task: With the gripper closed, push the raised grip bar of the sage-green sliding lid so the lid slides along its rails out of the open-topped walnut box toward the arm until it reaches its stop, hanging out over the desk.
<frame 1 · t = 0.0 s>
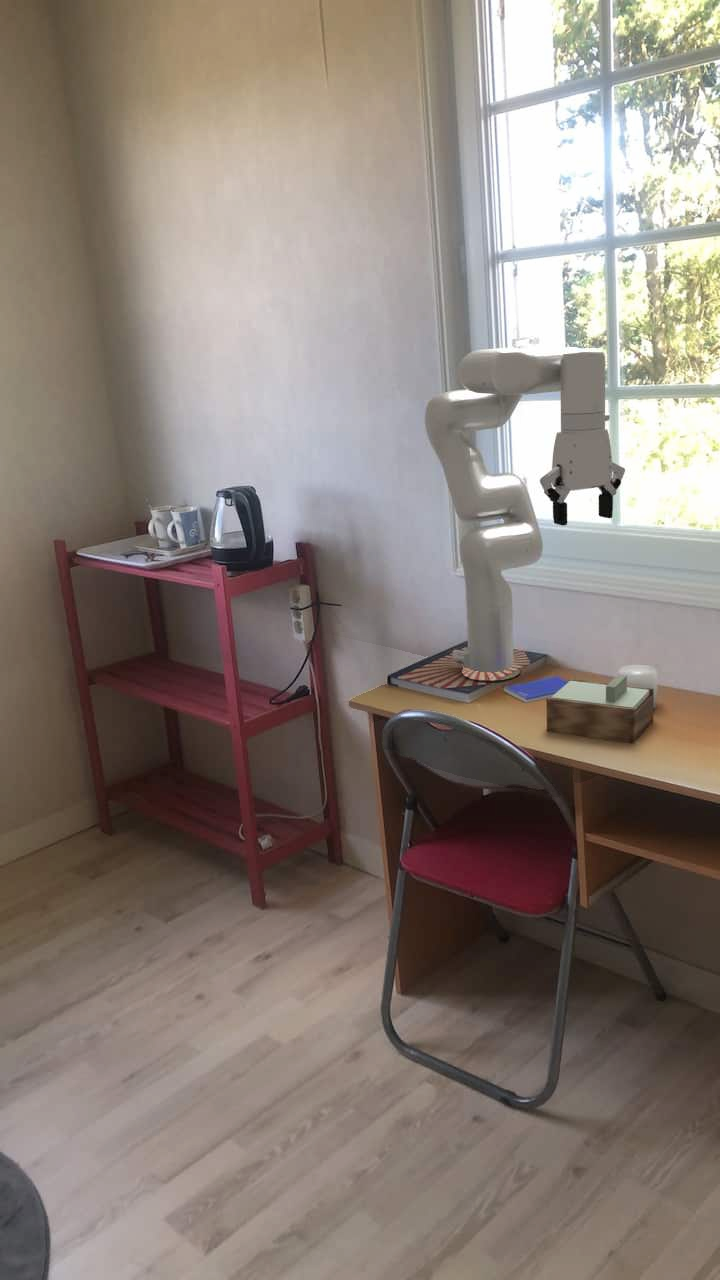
hand: (583, 520, 193), 37 cm above the table, tool pointing down, fingers open, 9 cm apart
walnut box: (600, 725, 199), on the table
blue book: (541, 694, 220), on the table
lid: (600, 688, 197), point 7 cm above the table, slide at 0.0 cm
white round canister: (637, 705, 209), on the table
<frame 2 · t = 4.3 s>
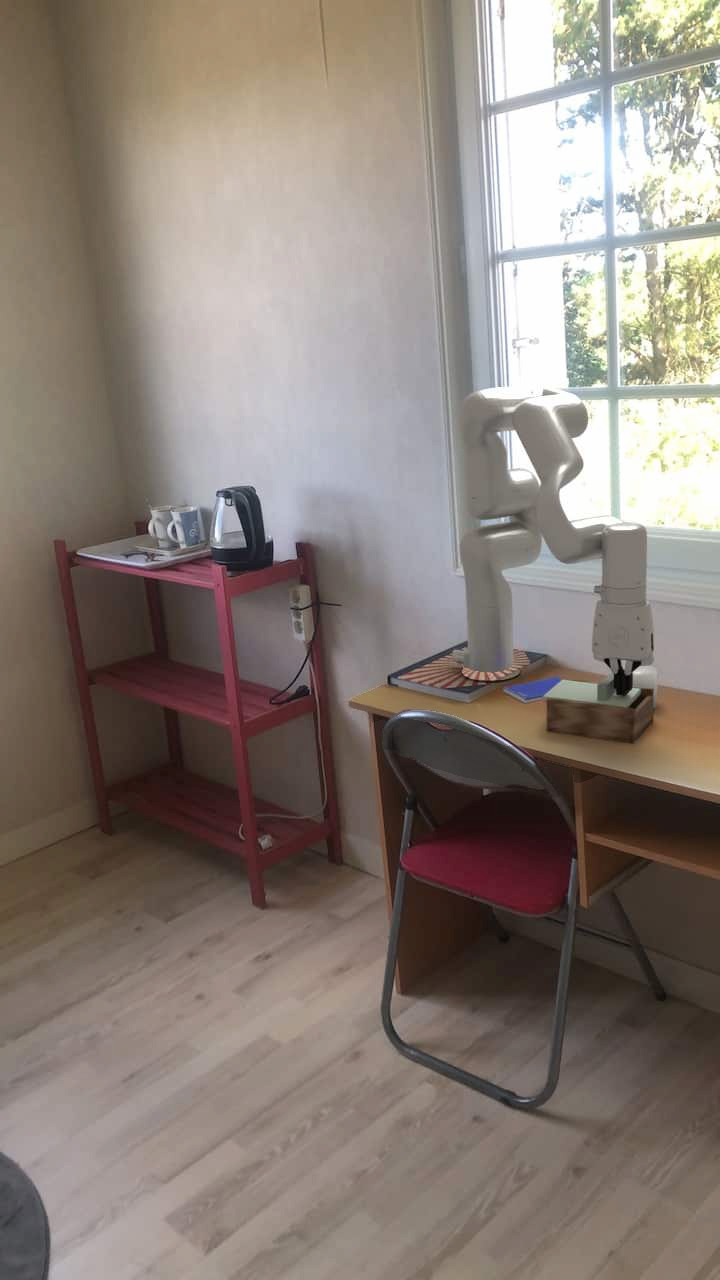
hand: (623, 693, 196), 7 cm above the table, tool pointing down, fingers closed
lid: (591, 687, 198), point 7 cm above the table, slide at 1.6 cm, touching gripper
everything else where it was.
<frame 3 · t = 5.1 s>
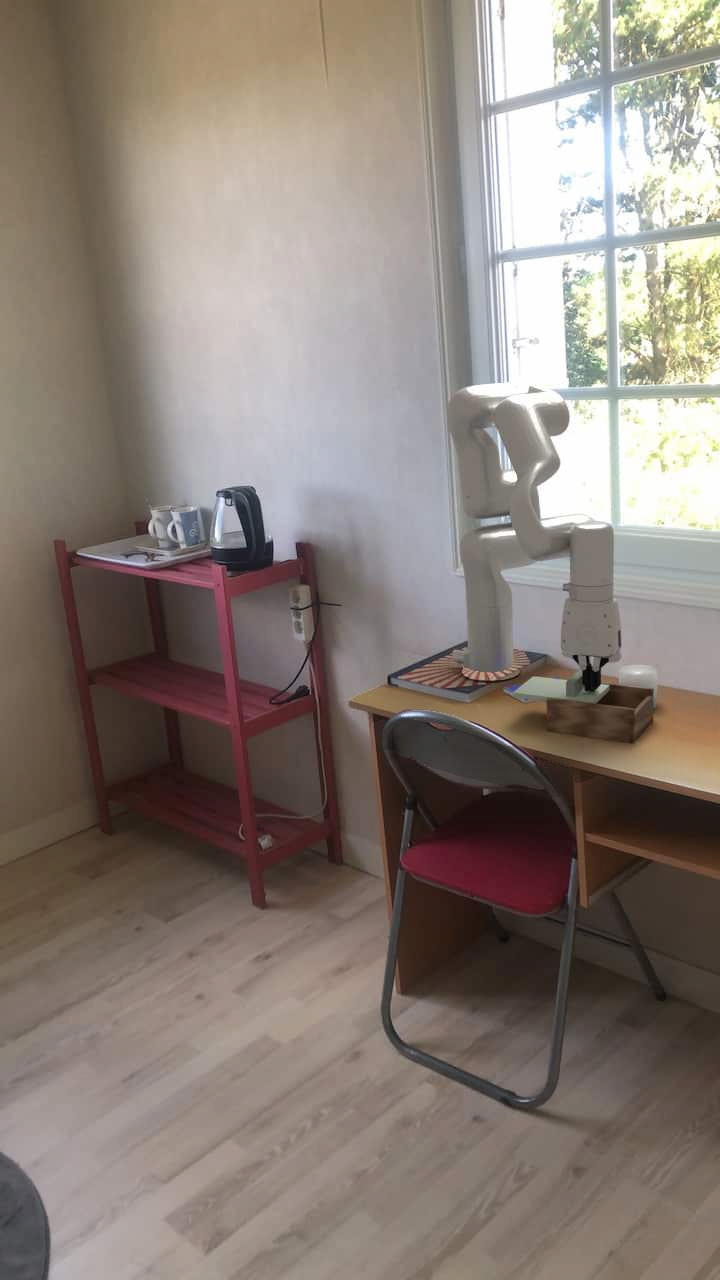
hand: (591, 689, 198), 7 cm above the table, tool pointing down, fingers closed
lid: (561, 684, 201), point 7 cm above the table, slide at 7.4 cm, touching gripper
everything else where it was.
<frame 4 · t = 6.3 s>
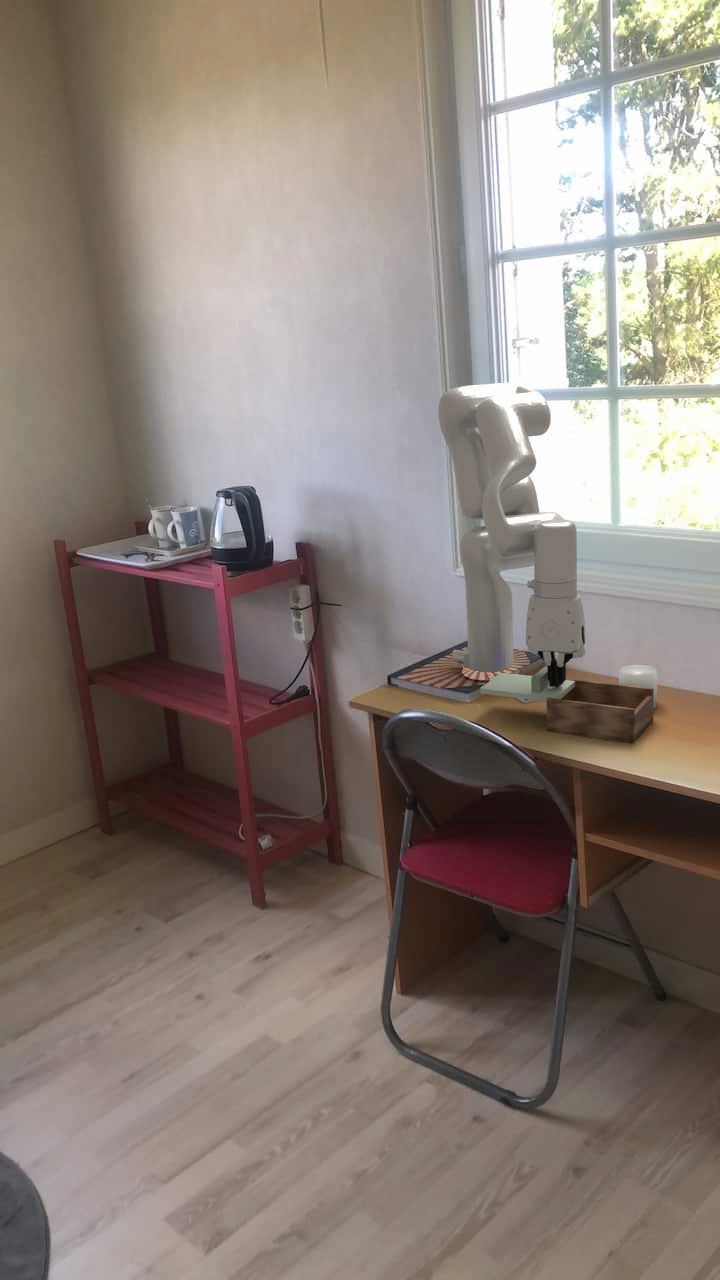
hand: (556, 684, 202), 7 cm above the table, tool pointing down, fingers closed
lid: (527, 680, 205), point 7 cm above the table, slide at 14.1 cm, touching gripper
everything else where it was.
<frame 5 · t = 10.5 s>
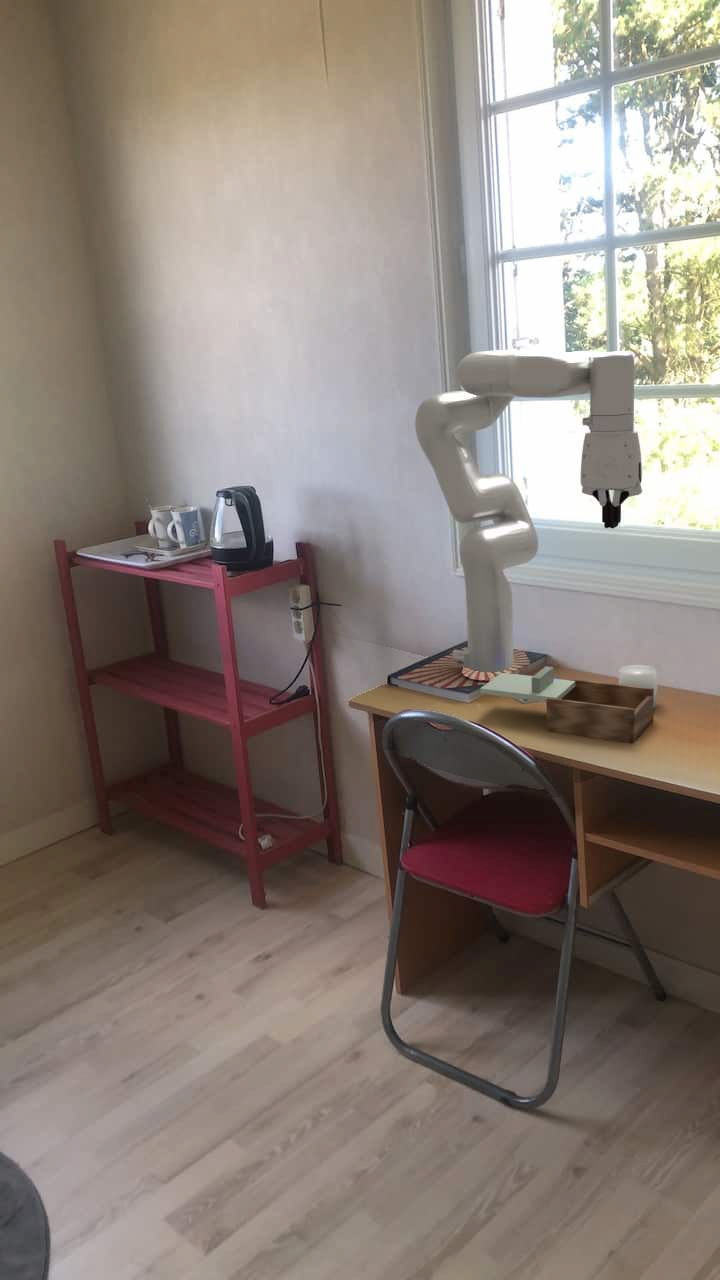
hand: (611, 526, 197), 35 cm above the table, tool pointing down, fingers closed
lid: (527, 680, 205), point 7 cm above the table, slide at 14.0 cm
everything else where it was.
at the end: lid slide at 14.0 cm; lid touching nothing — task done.
